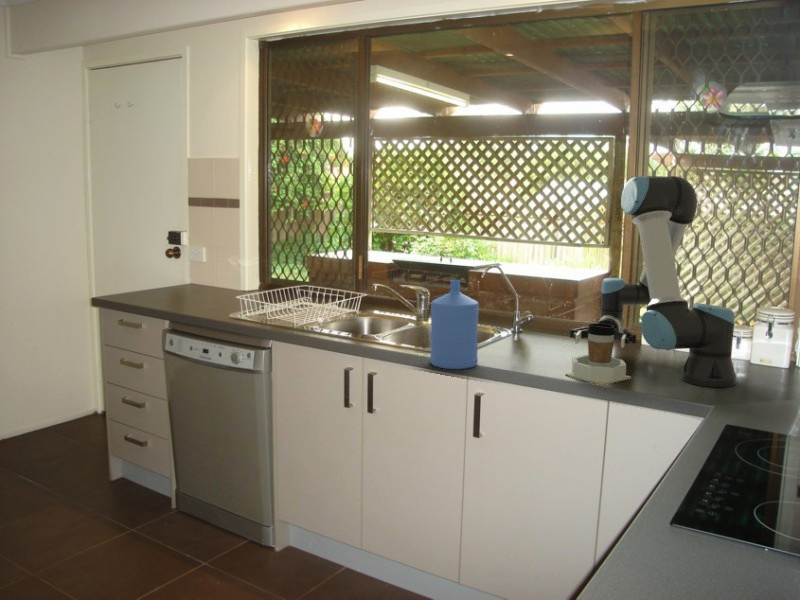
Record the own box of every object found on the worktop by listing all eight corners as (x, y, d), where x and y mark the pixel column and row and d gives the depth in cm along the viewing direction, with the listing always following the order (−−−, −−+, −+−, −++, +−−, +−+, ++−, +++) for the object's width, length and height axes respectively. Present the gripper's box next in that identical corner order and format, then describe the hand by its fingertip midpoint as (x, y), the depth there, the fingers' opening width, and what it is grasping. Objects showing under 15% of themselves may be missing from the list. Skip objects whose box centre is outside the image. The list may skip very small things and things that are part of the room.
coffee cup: (579, 370, 212) (581, 323, 209) (599, 367, 216) (602, 320, 213) (598, 377, 204) (601, 328, 202) (619, 373, 208) (622, 325, 206)
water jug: (461, 372, 215) (463, 284, 210) (420, 364, 224) (421, 280, 220) (486, 363, 227) (488, 279, 222) (447, 355, 236) (448, 276, 232)
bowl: (634, 378, 209) (635, 362, 208) (602, 386, 200) (603, 370, 199) (593, 368, 221) (594, 353, 220) (562, 375, 212) (562, 359, 211)
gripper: (646, 342, 224) (641, 357, 204) (569, 336, 233) (557, 349, 214) (647, 320, 222) (642, 332, 203) (570, 314, 232) (558, 325, 213)
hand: (599, 341), depth 209 cm, fingers open, 13 cm apart
